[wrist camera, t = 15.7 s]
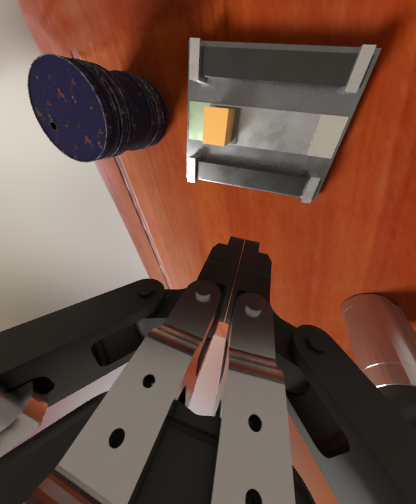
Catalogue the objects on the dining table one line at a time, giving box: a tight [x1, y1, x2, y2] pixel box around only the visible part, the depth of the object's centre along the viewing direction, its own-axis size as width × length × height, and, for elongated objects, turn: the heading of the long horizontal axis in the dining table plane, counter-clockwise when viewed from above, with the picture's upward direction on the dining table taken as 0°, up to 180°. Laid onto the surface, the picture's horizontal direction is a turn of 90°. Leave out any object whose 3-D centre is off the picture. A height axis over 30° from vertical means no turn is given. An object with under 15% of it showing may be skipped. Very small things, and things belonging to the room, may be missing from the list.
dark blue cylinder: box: [28, 54, 168, 162], centre depth 27 cm, size 10×10×15 cm
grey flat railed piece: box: [187, 38, 382, 203], centre depth 27 cm, size 22×17×5 cm
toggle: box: [203, 105, 241, 146], centre depth 27 cm, size 4×4×5 cm
